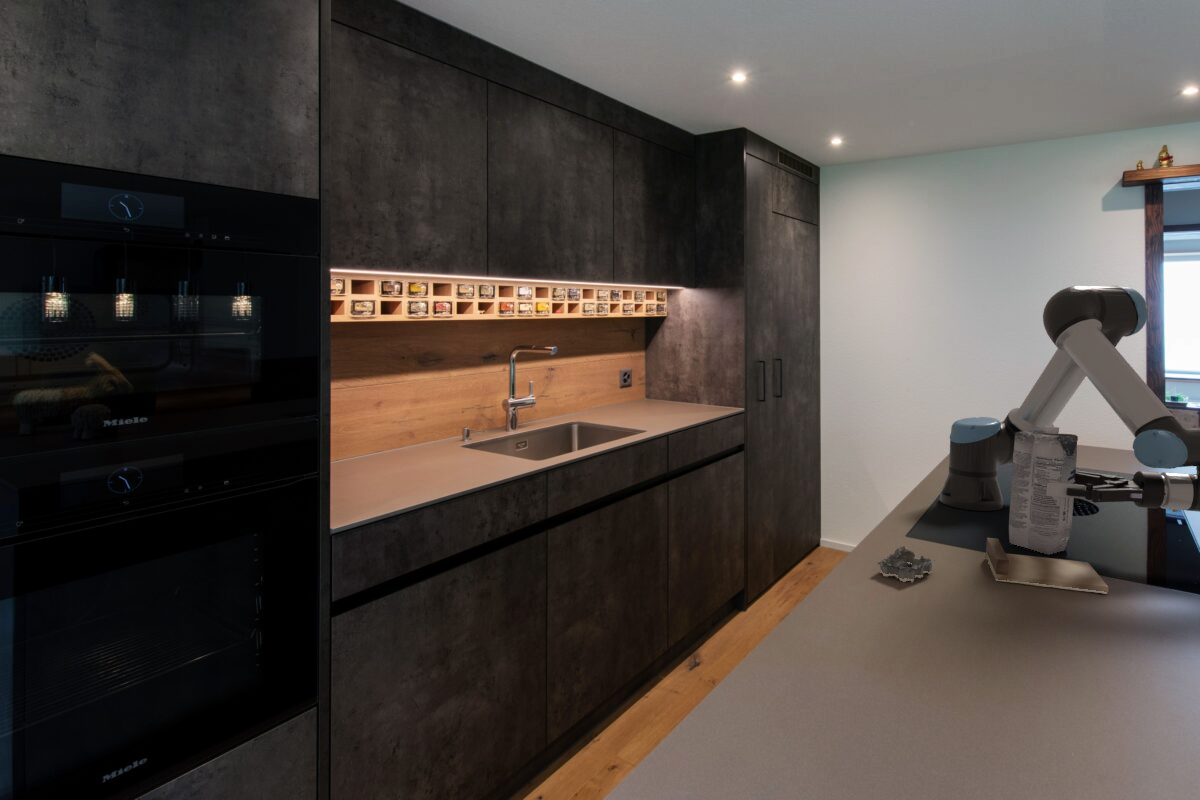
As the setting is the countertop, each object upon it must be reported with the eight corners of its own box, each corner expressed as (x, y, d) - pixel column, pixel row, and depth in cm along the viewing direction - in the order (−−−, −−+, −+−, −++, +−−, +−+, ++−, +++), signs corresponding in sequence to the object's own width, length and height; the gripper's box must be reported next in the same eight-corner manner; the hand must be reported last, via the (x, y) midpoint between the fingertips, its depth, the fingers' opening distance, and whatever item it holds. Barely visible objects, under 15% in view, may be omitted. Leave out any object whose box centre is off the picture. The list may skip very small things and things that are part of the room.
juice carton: (1050, 558, 145) (1060, 432, 142) (1002, 544, 154) (1009, 425, 151) (1074, 551, 149) (1084, 428, 146) (1025, 538, 158) (1033, 422, 155)
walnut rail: (996, 573, 132) (997, 558, 132) (986, 551, 145) (986, 537, 145) (1007, 575, 132) (1008, 560, 131) (996, 552, 144) (997, 538, 144)
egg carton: (903, 563, 143) (904, 544, 143) (938, 574, 137) (939, 554, 137) (872, 574, 137) (873, 554, 137) (908, 586, 131) (909, 565, 131)
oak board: (995, 581, 133) (996, 573, 132) (985, 558, 145) (986, 551, 145) (1107, 594, 126) (1108, 587, 126) (1087, 569, 139) (1087, 562, 138)
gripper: (1182, 524, 131) (1052, 513, 139) (1137, 493, 154) (1027, 485, 162) (1186, 486, 130) (1054, 477, 138) (1140, 461, 153) (1029, 454, 161)
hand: (1039, 481), depth 150 cm, fingers open, 13 cm apart
